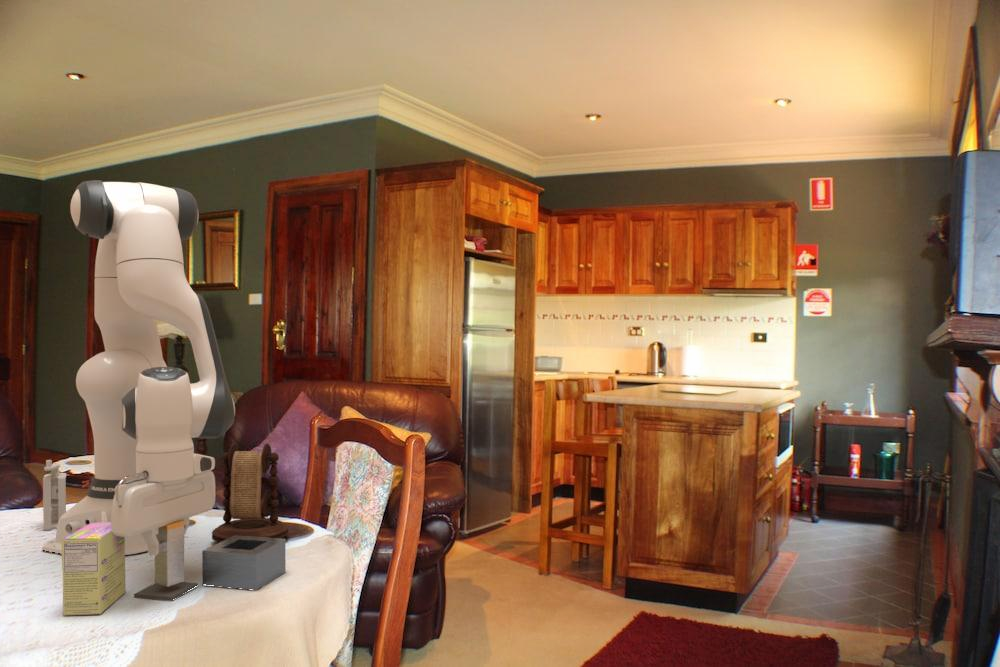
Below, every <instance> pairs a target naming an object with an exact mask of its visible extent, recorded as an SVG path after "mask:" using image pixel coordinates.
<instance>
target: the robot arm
mask: <svg viewBox="0 0 1000 667" xmlns="http://www.w3.org/2000/svg"><path fill="white" fill-rule="evenodd" d="M69 207H70V208H69V209H70V215H71V219H72V221H73V224H74V227H75V229H76V230H78V231H79V233H81V234H82V235H84V236H87V237H90V238H93V239H98V244H97V250H96V255H95V264H94V320H95V322H96V324H97V326H98V327H99V330H100V333H101V338H102V342H103V346H104V351H101V352H99V353H97V354H95V355H94V356H92V357H90V358H89V359H88V360H86V361H85V362H84V363H83V364H82V365H81V366H80V367H79V369H78V370H77V372H76V377H75V387H76V390H77V393H78V395H79V396H80V397H81V399H82V400H83V401H84V402H85V406H86V410H87V414H88V418H89V422H90V425H91V430H92V435H93V437H92V438H93V451H94V452H93V458H94V464H93V466H94V467H93V468H94V475H93V477H91V478H90V479H87V480H85V481H82V482H81V483H82V484H84V485H82V486H81V487H82V488H86V487H88V488H87V491H86V495H85V497H83V498H82V499H81V500H79V501H78V502H77V503H75V504H74V505H73V506H72V507H71V508H70V509H68V510H66V512H65V513H64V514H63V515H62V516H61V517H60V519H59V521H58V525H57V529H56V530H55V537H54V538H52V539H50V540H48V541H46V542H45V543H44V544H43V545H42V547H41V551H42V550H45V551H44V552H46V551H49V552H48V553H52V552H55V553H54V554H58V553H60V554H59V555H62V539H64V538H66V537H68V536H69V535H71V534H73V533H75V532H76V531H78V530H80V529H81V528H83V527H85V526H87V525H88V524H90V523H103V522H111V531H112V532H113V533H114V535H116V536H121V537H125V556H127V555H129V556H130V555H135V554H139V553H144V552H147V553H148V555H149V556H154V557H155V556H156V555H158V554H161V553H162V552H163V549H162V548H163V543H159V542H158V539H157V537H156V535H157V534H158V528H159V527H162V526H165V525H167V524H170V523H173V522H176V521H179V520H182V521H184V536H185V535H186V533H187V530H188V528H189V525H190V518H192V517H194V516H197V515H198V516H199V515H201V514H203V513H207V512H209V511H211V510H212V509H213V508H214V506H215V503H216V477H215V474H214V472H213V471H212V470H214V469H215V466H216V460H215V457H213V456H208V455H205V454H200V453H195V447H194V445H195V444H194V441H193V438H197V439H218V438H220V437H221V436H222V435H224V434H225V433H226V432H227V431H228V430H229V429H230V428H232V426H233V424H235V416H236V406H235V402H234V399H233V396H232V395H233V394H232V393H231V389H230V387H229V384H228V380H227V377H226V374H225V370H224V365H223V361H222V357H221V353H220V350H219V349H220V348H219V344H218V340H217V336H216V333H215V329H214V324H213V320H212V317H211V313H210V310H209V307H208V305H207V303H206V301H205V298H204V297H203V296H202V295H201V294H199V293H196V292H195V291H194V290H193V289H192V287H191V286H190V283H189V282H188V279H187V277H186V273H185V268H184V265H185V263H184V253H183V245H182V243H183V242H186V241H187V240H189V239H190V238H191V237H192V236H193V235H194V234H195V232H196V229H197V227H198V224H199V216H200V215H199V208H198V203H197V200H196V198H195V197H194V195H193V194H192V193H191V192H189V191H187V190H185V189H182V188H179V187H174V186H173V187H168V186H163V185H159V184H153V183H146V182H141V181H139V182H128V181H102V180H100V179H99V180H97V179H95V180H86V181H82V182H80V184H78V185H77V187H75V190H74V193H73V194H72V198H71V200H70V206H69ZM157 321H159V322H162V323H165V324H168V325H169V326H173V327H174V328H177V329H178V330H180V331H181V332H183V333H184V334H185V335H186V336H187V338H188V339H189V341H190V343H191V347H192V352H193V356H194V361H195V364H196V369H197V374H198V376H199V377H198V378H199V381H197V382H194V383H193V382H192V383H191V382H190V381H191V380H190V376H189V373H188V372H187V371H186V370H183V369H182V368H180V367H172V366H167V364H166V361H165V360H164V357H163V356H164V355H163V351H162V345H161V339H160V333H159V327H158V322H157Z"/></svg>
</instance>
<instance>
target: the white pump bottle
mask: <svg viewBox="0 0 1000 667" xmlns="http://www.w3.org/2000/svg"><path fill="white" fill-rule="evenodd" d="M60 466H61V464H60V463H53V461H52V459H46V460H45V466H44V467H43V470H44V471H46V472H49V471H50V473H48V474H44V476H43V478H42V504H43V505H42V506H43V509H42V511H43V513H42V514H43V515H42V516H43V528H42V529H43V531H44V530H47V531H51V530H53V529H54V528H57V525H58V521H59V519H60V517H61V516H62V515H63V514H64V513H65V512H67V499H66V497H67V490H66V488H67V487H66V484H67V483H66V481H67V479H66V478H67V473H66V472H60V469H59V468H60ZM54 530H55V529H54Z"/></svg>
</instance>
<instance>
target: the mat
mask: <svg viewBox="0 0 1000 667" xmlns="http://www.w3.org/2000/svg"><path fill="white" fill-rule="evenodd" d="M197 585H198V586H199V583H198V582H189V581H188V582H186V581H183V582H180V583H177V584H174V585H171V586H168V587H167V586H163V585H160V584H156V583H155V582H154V583H153V584H151V585H149V586H146V587H145V588H143V589H141V590H139V591H137V592H135V593H134V594H133V598H137V599H146V598H147V600H156V599H158V600H159V601H167V600H173V599H175V598H177V597H178V596H180V595H182V594H183V593H185V592H187V591H188V590H190V589H192V588H194V587H195V586H197ZM182 596H183V595H182ZM180 597H181V596H180ZM177 599H178V598H177ZM175 600H176V599H175ZM173 601H174V600H173Z"/></svg>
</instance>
